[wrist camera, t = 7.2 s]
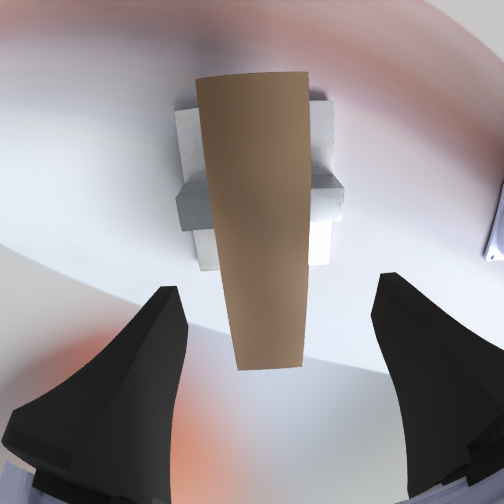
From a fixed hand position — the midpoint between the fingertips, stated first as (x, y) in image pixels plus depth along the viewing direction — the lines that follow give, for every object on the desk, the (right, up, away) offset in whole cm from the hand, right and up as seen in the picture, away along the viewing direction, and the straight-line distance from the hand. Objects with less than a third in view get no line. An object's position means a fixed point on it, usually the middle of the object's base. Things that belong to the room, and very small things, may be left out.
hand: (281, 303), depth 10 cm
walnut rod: (-1, +4, +6) cm, 7 cm away
